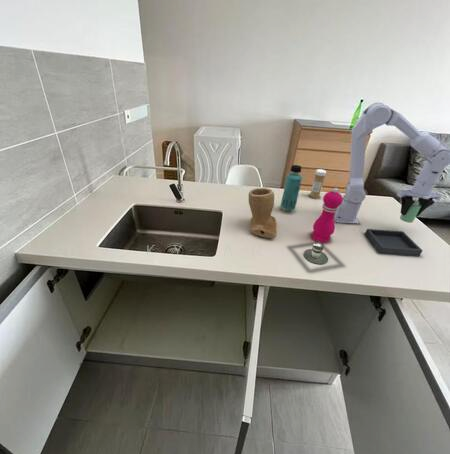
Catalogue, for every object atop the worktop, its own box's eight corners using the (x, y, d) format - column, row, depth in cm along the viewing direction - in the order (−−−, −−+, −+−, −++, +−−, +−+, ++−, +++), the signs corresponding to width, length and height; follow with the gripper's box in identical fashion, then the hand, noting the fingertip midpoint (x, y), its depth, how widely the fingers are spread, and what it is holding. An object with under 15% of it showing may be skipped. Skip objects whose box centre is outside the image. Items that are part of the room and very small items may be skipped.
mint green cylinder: (403, 222, 93) (413, 203, 89) (397, 216, 97) (406, 198, 92) (415, 223, 93) (425, 204, 89) (408, 217, 97) (418, 199, 92)
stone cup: (247, 215, 100) (250, 182, 93) (276, 219, 99) (282, 185, 91) (242, 236, 88) (246, 199, 80) (275, 241, 86) (282, 204, 78)
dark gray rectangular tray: (379, 253, 83) (382, 247, 82) (364, 234, 93) (366, 228, 92) (419, 256, 83) (422, 250, 82) (400, 236, 93) (403, 231, 92)
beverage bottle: (278, 211, 105) (286, 166, 95) (281, 205, 110) (289, 162, 100) (293, 215, 103) (304, 169, 93) (295, 208, 108) (305, 164, 98)
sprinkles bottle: (321, 197, 120) (328, 171, 112) (315, 199, 117) (322, 172, 110) (313, 193, 123) (320, 168, 116) (307, 195, 120) (314, 169, 113)
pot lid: (341, 265, 77) (346, 253, 74) (309, 271, 74) (313, 259, 71) (319, 243, 87) (323, 231, 84) (289, 247, 83) (292, 235, 81)
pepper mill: (306, 234, 91) (320, 185, 80) (321, 230, 94) (336, 182, 83) (319, 245, 85) (336, 194, 75) (335, 241, 88) (353, 191, 77)
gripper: (412, 184, 83) (395, 218, 90) (455, 187, 83) (435, 221, 90) (400, 176, 89) (385, 209, 96) (440, 179, 89) (422, 211, 96)
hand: (408, 214), depth 93 cm, fingers closed on mint green cylinder, 4 cm apart
